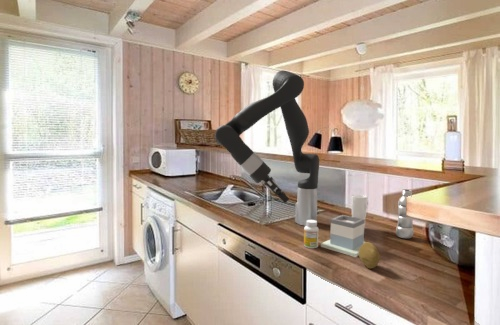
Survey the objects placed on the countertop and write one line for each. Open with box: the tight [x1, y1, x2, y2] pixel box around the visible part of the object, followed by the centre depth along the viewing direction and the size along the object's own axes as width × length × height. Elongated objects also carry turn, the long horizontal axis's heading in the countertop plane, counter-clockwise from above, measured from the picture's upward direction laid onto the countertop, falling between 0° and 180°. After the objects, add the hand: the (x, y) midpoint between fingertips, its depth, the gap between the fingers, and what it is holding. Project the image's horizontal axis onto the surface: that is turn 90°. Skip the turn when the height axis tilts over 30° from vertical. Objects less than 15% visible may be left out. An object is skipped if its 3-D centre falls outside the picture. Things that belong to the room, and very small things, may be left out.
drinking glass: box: [350, 194, 368, 228], centre depth 139 cm, size 7×7×15 cm
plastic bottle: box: [395, 189, 414, 240], centre depth 127 cm, size 6×7×20 cm
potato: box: [358, 241, 381, 270], centre depth 99 cm, size 7×8×8 cm
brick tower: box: [320, 214, 366, 258], centre depth 116 cm, size 14×14×11 cm
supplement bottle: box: [303, 220, 320, 249], centre depth 117 cm, size 5×5×10 cm
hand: (285, 198), depth 115 cm, fingers open, 8 cm apart
